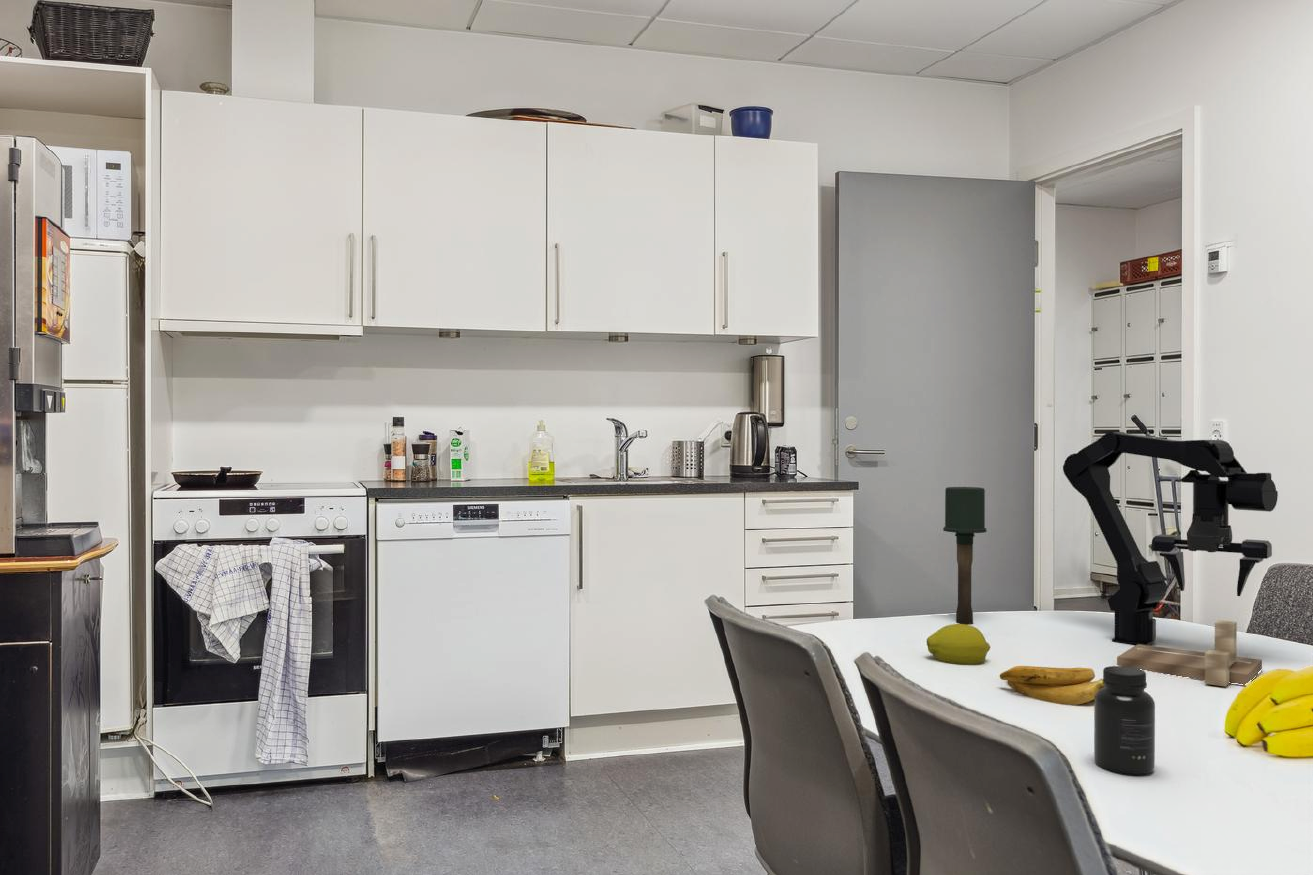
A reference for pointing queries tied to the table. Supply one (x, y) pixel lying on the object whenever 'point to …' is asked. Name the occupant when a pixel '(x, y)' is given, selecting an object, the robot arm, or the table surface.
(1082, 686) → the banana
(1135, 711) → the supplement bottle
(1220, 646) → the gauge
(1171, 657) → the board
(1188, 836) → the table surface
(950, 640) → the lemon
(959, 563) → the potato masher grenade
